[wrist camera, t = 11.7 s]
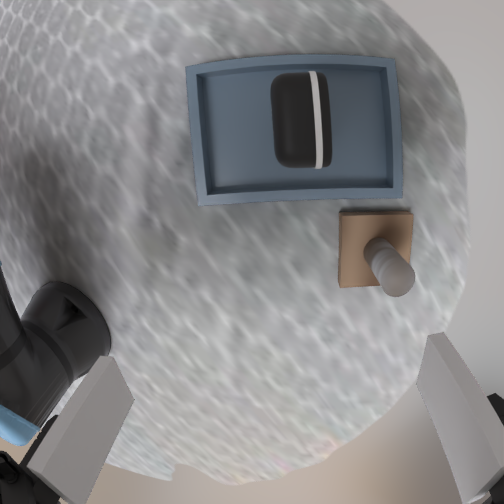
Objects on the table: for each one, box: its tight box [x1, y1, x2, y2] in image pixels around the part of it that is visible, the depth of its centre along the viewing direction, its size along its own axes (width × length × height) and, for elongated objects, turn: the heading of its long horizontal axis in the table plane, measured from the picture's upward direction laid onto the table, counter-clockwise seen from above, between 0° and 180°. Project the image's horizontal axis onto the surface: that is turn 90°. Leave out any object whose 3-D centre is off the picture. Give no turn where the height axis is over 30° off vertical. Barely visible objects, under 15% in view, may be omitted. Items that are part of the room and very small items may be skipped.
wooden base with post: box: [338, 211, 415, 297], centre depth 28 cm, size 8×8×9 cm
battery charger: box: [270, 71, 332, 169], centre depth 22 cm, size 7×4×11 cm, turn 4°
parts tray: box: [185, 54, 403, 206], centre depth 27 cm, size 20×14×3 cm
